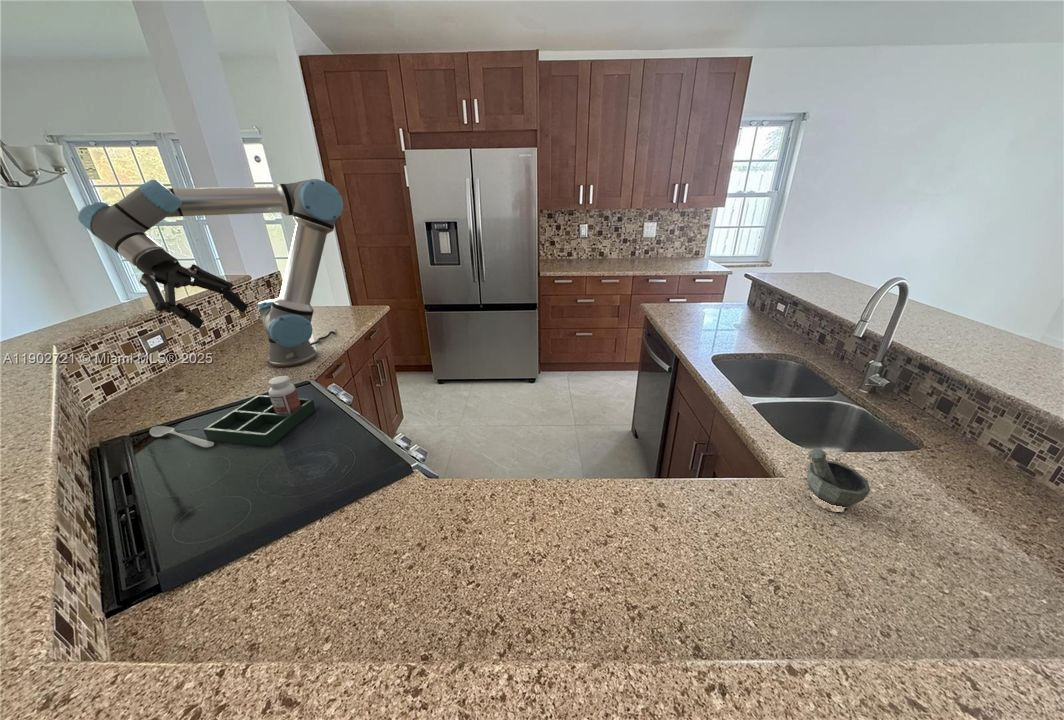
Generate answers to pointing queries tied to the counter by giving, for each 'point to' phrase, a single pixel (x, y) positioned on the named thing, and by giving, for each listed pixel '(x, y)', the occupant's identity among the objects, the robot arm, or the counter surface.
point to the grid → (257, 422)
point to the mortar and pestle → (835, 481)
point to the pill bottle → (283, 395)
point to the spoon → (163, 430)
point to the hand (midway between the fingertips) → (224, 316)
